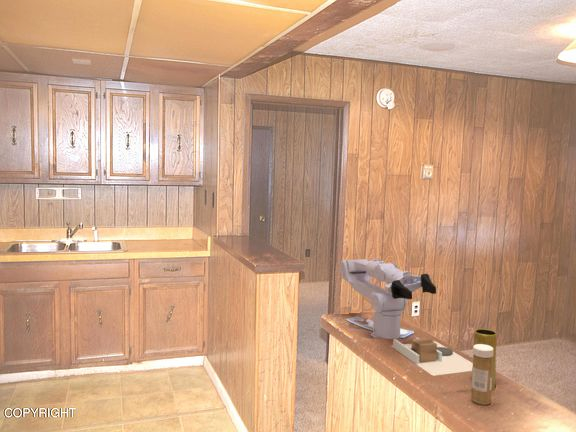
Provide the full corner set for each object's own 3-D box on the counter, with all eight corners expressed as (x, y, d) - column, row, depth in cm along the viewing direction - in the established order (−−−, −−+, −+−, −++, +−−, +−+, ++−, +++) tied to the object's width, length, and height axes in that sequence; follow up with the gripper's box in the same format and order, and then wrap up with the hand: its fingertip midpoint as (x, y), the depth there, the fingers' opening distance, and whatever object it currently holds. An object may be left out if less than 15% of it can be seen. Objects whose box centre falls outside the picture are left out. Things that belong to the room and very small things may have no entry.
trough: (393, 347, 153) (393, 339, 153) (416, 344, 155) (416, 337, 155) (416, 364, 140) (416, 355, 140) (441, 361, 142) (442, 352, 142)
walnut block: (411, 356, 146) (411, 339, 145) (426, 354, 147) (427, 338, 147) (420, 363, 141) (421, 345, 141) (436, 361, 142) (436, 343, 142)
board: (390, 350, 155) (390, 345, 154) (435, 345, 159) (435, 341, 159) (432, 381, 133) (432, 375, 132) (482, 374, 137) (483, 369, 137)
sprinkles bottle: (495, 402, 121) (497, 347, 120) (483, 407, 118) (485, 351, 117) (478, 395, 125) (481, 342, 123) (466, 399, 122) (469, 345, 121)
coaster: (427, 349, 151) (427, 348, 151) (445, 347, 153) (445, 346, 153) (438, 357, 146) (439, 355, 145) (457, 354, 147) (457, 353, 147)
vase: (465, 382, 132) (467, 329, 130) (484, 379, 134) (486, 327, 133) (482, 392, 126) (484, 337, 125) (501, 389, 128) (504, 334, 127)
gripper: (377, 272, 154) (399, 284, 141) (419, 263, 158) (444, 274, 145) (379, 294, 155) (400, 308, 142) (420, 284, 159) (446, 298, 146)
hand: (423, 293), depth 144 cm, fingers open, 7 cm apart
